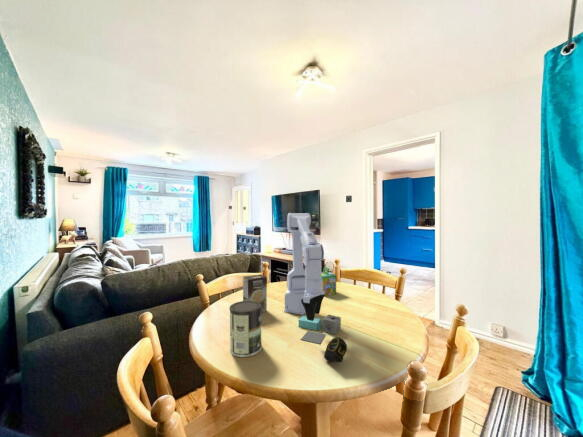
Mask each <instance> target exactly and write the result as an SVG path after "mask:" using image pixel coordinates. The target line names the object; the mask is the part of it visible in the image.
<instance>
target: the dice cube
mask: <svg viewBox="0 0 583 437" xmlns="http://www.w3.org/2000/svg"><path fill="white" fill-rule="evenodd" d="M341 319H342V317H340V316H336V315H333V314H327V315H326V316H325V317H323V318H322V332H325V333H327V334H331V335H334V336H336V335H337V334H338V333H339V332H340V331H341V330H342V329H341V328H342V324H341V323H342V322H341V321H342V320H341Z"/></svg>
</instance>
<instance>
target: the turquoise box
mask: <svg viewBox="0 0 583 437" xmlns="http://www.w3.org/2000/svg"><path fill="white" fill-rule="evenodd" d="M322 327H323V318H317V317H314V320H313V321H310V320H307V316H306V315H302V316H301V317H300V318H299V319H298V328H304V329H307V330H308V329H309V330H312V331H313V330H314V331H317V332H318V331H319V330H320V329H321V328H322Z"/></svg>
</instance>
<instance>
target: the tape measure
mask: <svg viewBox="0 0 583 437" xmlns="http://www.w3.org/2000/svg"><path fill="white" fill-rule="evenodd" d="M347 345H348V344H347V343H346V341H345V340H344V339H343V338H341V337H339V336H338V337H337V336H334V337H333V338H331V340H330V341H329V342H328V343H327V345H326V348H325V351H324V355H323V356H324V357H323V358H324V359H325V361H328V362H337V363H342V362H343V361H344V356H345V355H346V353H347V349H348V346H347Z"/></svg>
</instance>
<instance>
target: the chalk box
mask: <svg viewBox="0 0 583 437" xmlns="http://www.w3.org/2000/svg"><path fill="white" fill-rule="evenodd" d="M321 286H322V291H325V296H324V297H327V296H332V295H336V294H337V274H334V273H332V272H330V268H328V267H323V270H322V271H321Z"/></svg>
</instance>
